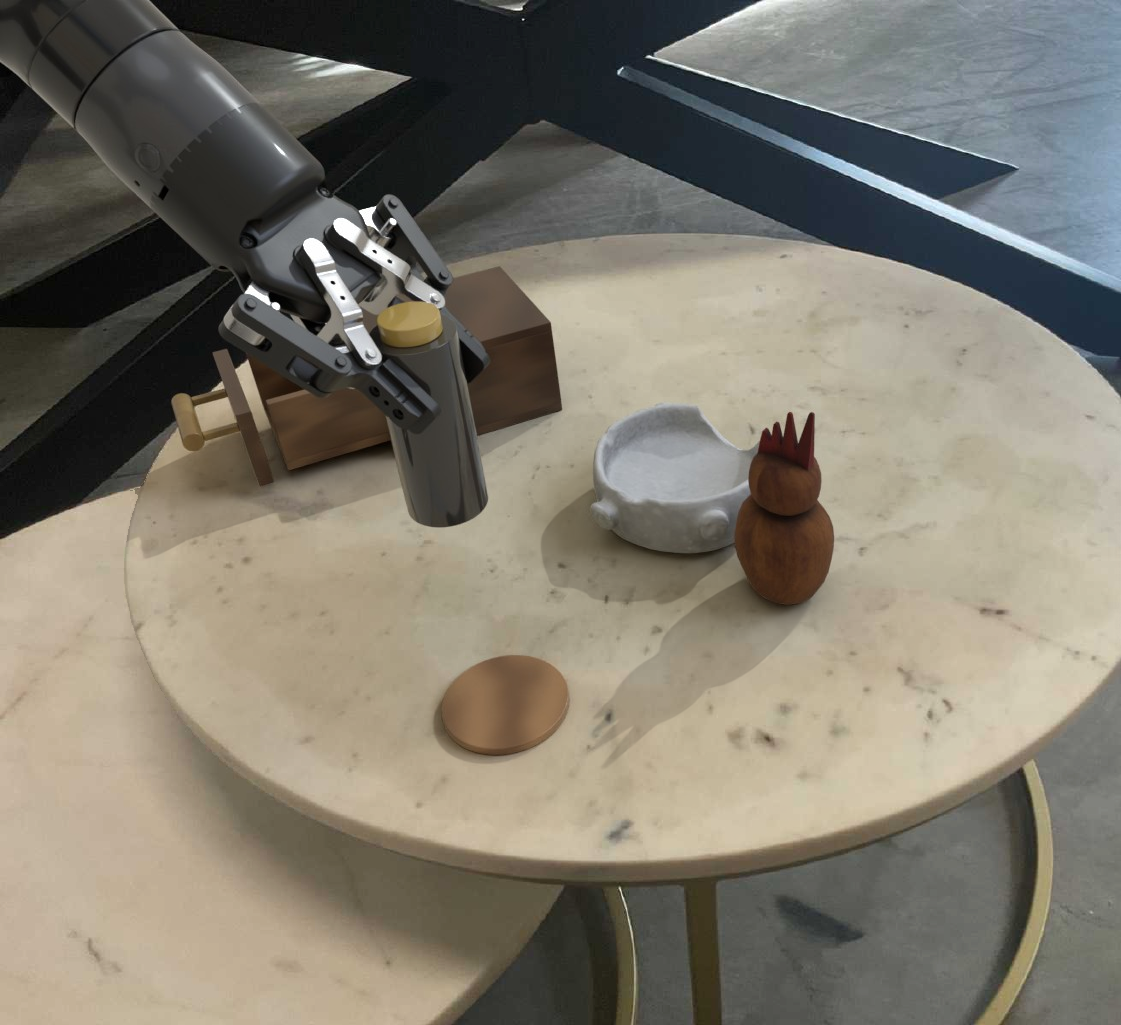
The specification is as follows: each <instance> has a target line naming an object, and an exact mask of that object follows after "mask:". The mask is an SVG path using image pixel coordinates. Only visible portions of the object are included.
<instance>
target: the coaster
mask: <svg viewBox="0 0 1121 1025" xmlns="http://www.w3.org/2000/svg"><path fill="white" fill-rule="evenodd" d="M570 699H571V698H570V691H569V687H568V683H567V681H566V678H565V677H564V676H563V674H562V673H561V672H560V671H559V670H558V669H557V668H556V667H555V666H554V665H552V664H551V663H550V662H547V661H546V660H544V659H541V658H538V657H535V656H531V655H524V654H510V655H509V654H508V655H507V654H506V655H501V656H496V657H493V658H488V659H486V660H485V659H484V660H483V661H480V662H478V663H476V664H474V665H472V666H471V667H469V668H466V669H465V671H463V672H461V673H460V675H458V676H457V677H456V678H455V679H454V680H453V681H452V682H451V684H449V686H448V688H447V690H446V691H445V693H444V696H443V699H442V703H441V710H440V711H441V712H440V713H441V719H442V723H443V725H444V729H445V731H446V733H447V734H448V736H449V737H450V738H451V739H452V741H454V742H455V743H456V744H458V745H459V746H460V747H462V748H463V749H466V750H468V751H470V752H473V753H476V754H482V755H488V756H502V755H511V754H515V753H519V752H522V751H526V750H528V749H531V748H533V747H535V746H537V745H539V744H541V743H542V742H544V741H545V740H547V739H548V738H549V737H551V736H552V735H553V734H554V733H555V732H557V730H558V728H559V727H560V726H561V725H562V723H563V721H564V720H565V719H566V716H567V714H568V711H569V707H570Z"/></svg>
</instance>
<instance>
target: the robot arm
mask: <svg viewBox="0 0 1121 1025" xmlns="http://www.w3.org/2000/svg"><path fill="white" fill-rule="evenodd" d="M0 63H1V64H2V65H4V66H5V67H6V68H8V69H9V70H10V71H12V72H13V73H14V74H16V76H18V77H19V78H20V79H21V80H22V81H23V82H24V83H25V84H26V85H27V86H28V87H29V88H30V89H31V90H33V91H34V92H35V93H36V94H37V95H38V96H39V97H40V98H41V99H42V100H43V101H44V102H45V103H46V104H47V105H48V106H50V107H51V109H53V110H54V111H55V112H56V113H57V114H58V115H59V116H60V117H61V118H62V119H64V121H66V122H67V124H69V125H70V126H71V128H73V129H74V130H75V131H76V132H77V133H78V134H79V135H80V136H81V137H82V138H83V139H84V141H86V142H87V144H88V145H89V146H90V147H91V149H93V151H94V153H96V154H97V156H98V157H99V159H100V160H101V161H102V162H103V164H105V165H106V167H107V168H108V169H109V170H110V171H111V172H112V173H113V175H115V176H116V177H117V178H118V179H119V180H120V181H121V182H122V183H123V184H124V185H125V186H126V187H127V188H129V189H130V190H131V191H132V192H133V193H134V194H135V196H137V197H138V198H139V199H140V200H141V201H142V202H143V203H145V205H147V206H148V207H149V208H150V209H151V210H152V211H153V212H154V213H155V214H156V215H157V216H158V217H159V218H160V219H162V221H164V223H166V224H167V225H168V226H169V227H170V228H171V229H172V230H173V231H174V232H175V233H176V234H177V235H178V236H180V237H181V238H182V239H183V241H184V242H186V243H187V244H188V245H189V246H190V247H191V248H192V249H193V250H194V251H195V252H196V253H197V254H199V255H200V257H202V258H203V259H204V260H205V261H206V262H207V263H208V264H209V265H210V266H211V267H212V268H213V269H216V271H219V272H225V273H226V272H227V273H228V272H231V273H232V274H233V276H234V277H235V278H236V281H237V282H238V285H239V287H240V289H241V291H242V293H241V294H240V295H239V296H238V297H237V299H236V300H235V301H234V303H233V304H232V305H230V307H229V309H228V311H227V312H226V313H225V315H224V316H223V319H222V321H221V322H220V323H219V325H218V333H219V335H220V337H221V338H222V339H223V340H225V341H226V342H228V343H230V344H231V345H233V346H234V347H236V348H237V349H238V350H241V351H242V352H244V353H245V354H246V353H247V354H249V355H250V356H252V357H254V358H255V359H257V360H258V361H260V362H262V363H263V364H265V365H266V366H268V367H270V368H271V369H273V370H274V371H276V372H278V373H279V374H281V375H282V376H284V377H286V378H287V379H289V380H290V381H292V382H294V383H295V384H297V385H299V386H300V387H302V388H303V389H305V390H307V391H308V392H310V393H311V394H313V395H315V396H316V397H319V398H327V397H328V396H329V395H330V394H331V393H332V392H333V391H336V390H339V389H343V388H349V389H357V390H359V391H361V392H362V393H363V394H364V395H365V396H366V397H367V398H368V399H369V400H370V401H371V402H372V403H373V404H374V405H376V406H377V407H378V408H379V409H380V410H381V411H383V413H384V414H385V415H386V416H387V417H389V419H390V420H391V421H392V422H393V423H394V424H396V425H397V426H398V427H400V428H402V429H404V430H406V431H407V430H409V431H410V432H412V433H414V434H421V433H422V432H423V431H424V430H425V429H426V428H427V427H428V426H429V425H430V424H431V423H432V422H433V421H434V420H435V419H436V418H437V417H438V416H439V415H440V413H441V408H440V406H439V405H438V403H437V402H436V401H435V400H434V399H432V398H431V397H430V396H429V395H428V394H427V393H426V392H425V391H424V390H423V389H422V388H421V387H420V386H419V385H418V384H417V383H416V382H415V381H414V380H413V379H412V378H411V377H410V376H409V375H408V374H407V373H406V372H404V371H403V370H402V369H401V368H400V367H399V366H398V365H397V364H396V363H395V362H394V361H393V360H392V359H391V358H389V359H388V360H387V361H385V362H384V363H383V362H382V361H381V360H382V355H381V352H380V351H379V349H378V347H377V346H376V344H375V343H374V341H373V340H372V338H371V336H370V335H369V333H368V332H367V330H366V329H365V327H364V325H363V313H362V310H361V308H360V307H362V308H363V309H365V310H367V311H368V312H370V313H372V314H374V315H379V314H380V313H381V312H382V311H384V310H385V309H387V308H389V307H391V306H394V305H396V304H400V303H405V301H404V300H402V299H401V298H399V297H397V296H396V295H397V294H402V295H404V296H406V297H407V298H409V299H411V300H412V301H413V302H414V301H420V302H427V303H431V304H433V305H435V306H436V307H437V308H438V309H439V311H440V314H441V315H444V316H447V317H449V318H450V319H452V320H453V321H454V322H455V324H456V326H457V331H458V336H459V341H460V347H461V352H462V358H463V363H464V368H465V374H466V379H467V383H471V382H472V381H473V380H474V379H475V378H476V377H477V376H478V375H479V374H480V373H481V372H482V371H483V370H484V369H485V368H486V367H487V366H488V365H489V363H490V357H489V355H488V354H487V353H486V350H485V349H484V347H483V345H482V344H481V342H480V341H479V340H478V339H477V338H476V337H475V336H473V334H472V333H471V332H470V331H468V330H467V328H466V327H464V326H463V325H462V324H461V323H460V322H459V321H458V320H457V319H456V318H455V317H454V316H453V315H452V314H451V313H450V312H449V311H448V309H447V308H446V306H445V299H444V298H445V295H446V292H447V289H448V287H449V286H450V285H451V284H452V282H453V278H454V276H453V274H452V272H451V271H450V269H449V268H448V266H447V265H446V264H445V262H444V260H443V259H442V258H441V257H440V255H439V253H438V252H437V251H436V250H435V248H434V246H433V245H432V244H431V242H430V240H429V239H428V237H427V236H426V235H425V233H424V232H423V231H422V230H421V228H420V226H419V225H418V224H417V222H416V220H414V218H413V216H412V215H411V214H410V212H409V211H408V210H407V208H406V206H405V205H404V203H403V202H402V201H401V200H400V198H399V197H397V196H395V195H394V194H390V193H387V194H385V195H383V196H382V198H381V199H380V201H379V202H378V203H377V204H376V206H371V207H368V208H363V209H360V210H359V209H358V208H356V207H355V206H354V205H352V204H350V203H348V202H346V201H345V200H342V199H340V197H337V196H336V195H335V194H333V193H332V192H331V191H330V189H329V187H328V185H327V182H326V174H325V169H324V167H323V165H322V163H321V162H320V161H319V160H318V159H317V158H316V157H315V156H314V155H313V154H312V153H311V152H310V151H308V149H307V148H306V147H305V145H303V144H302V143H301V142H300V141H299V140H298V139H297V138H296V137H294V135H293V134H292V133H291V132H290V131H289V130H287V128H286V127H285V126H284V125H283V124H282V123H281V122H280V121H278V119H276V117H275V116H274V115H272V114H271V113H270V112H269V111H268V109H267V108H265V106H264V105H262V103H261V102H259V101H258V99H256V97H254V96H253V95H252V93H250V91H248V90H247V89H246V87H244V86H243V84H242V83H240V82H239V80H238V79H236V78H235V77H234V76H233V75H232V74H231V73H230V72H229V71H228V70H227V69H226V68H225V67H224V66H223V65H222V64H221V63H220V62H218V61H217V60H216V59H215V58H213V57H212V56H211V55H210V54H209V53H207V52H206V51H204V50H203V49H202V48H201V47H199V46H198V45H197V44H195V43H194V41H192V40H190V39H189V37H187V36H186V35H185V34H184V33H182V32H181V31H180V29H179V28H178V27H177V26H176V25H175V24H174V23H173V22H172V21H171V20H170V19H169V18H168V17H167V16H166V15H165V14H164V13H163V12H162V11H161V10H159V8H158V7H156V5H155V4H154V3H153V2H152V1H151V0H0ZM417 264H418V265H419V266H420V268H421V269H422V271H423V272H424V274H425V275H426V277H425V278H424V277H423V275H422V274H421V272H420V271H419V269H418V268H417ZM381 275H383V276H384V278H385V279H384V280H383V281H382V282H381V280H382V276H381ZM379 282H381V284H380V285H379V286H377V284H379ZM359 306H360V307H359ZM283 313H284V314H283ZM286 314H288V315H290V317H291V318H292V319H291V318H290V317H288V316H287V315H286ZM346 345H347V346H348V348H349V349H350V351H351V352H350V351H349V349H348V348H347V346H346ZM298 355H299V356H302V357H304V358H305V359H307V360H308V361H310V362H311V363H313V364H315V365H316V366H318V367H319V368H316V367H315V366H313V365H311V364H310V363H308V362H307V361H305V360H304V359H302V358H300V357H299V356H298Z"/></svg>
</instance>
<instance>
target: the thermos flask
mask: <svg viewBox="0 0 1121 1025" xmlns="http://www.w3.org/2000/svg"><path fill="white" fill-rule="evenodd" d="M369 335H370V336H371V338H372V340H373V341H374V343H375V344H376V346H377V347H378V349H379V351H380V352H381V355H382V360H381V361H382V362H383V363H384V362H385V361H387V360H388V359H389V358H391V359H392V360H393V361H394V362H395V363H396V364H397V365H398V366H399V367H400V368H401V369H402V370H403V371H404V372H406V373H407V374H408V375H409V376H410V377H411V378H412V379H413V380H414V381H415V382H416V383H417V384H418V385H419V386H420V387H421V388H422V389H423V390H424V391H425V392H426V393H427V394H428V395H429V396H430V397H431V398H432V399H434V400H435V401H436V402H437V403H438V405H439V406H440V408H441V413H440V415H439V416H438V417H437V418H436V419H435V420H434V421H433V422H432V423H431V424H430V425H429V426H428V427H427V428H426V429H425V430H424V431H423V432H422V433H421V434H414V433H412V432H410V431H409V430H407V431H406V430H404V429H402V428H400V427H398V426H397V425H396V424H394V423H393V422H392V421H391V420H390V419H389V417H387V416H386V415H385V414H384V415H385V419H386V423H387V427H388V431H389V435H390V440H391V441H390V440H389V441H390V442H391V446H392V451H393V455H394V459H395V464H396V468H397V472H398V476H399V480H400V485H401V488H402V493H403V497H404V501H405V505H406V509H407V513H408V515H409V517H410V518H411V520H413V521H414V522H415V523H417V524H419V525H422V526H424V527H429V528H438V529H439V528H450V527H454V526H460V525H463V524H464V523H467V522H469V521H471V520H473V519H475V518H477V517H478V516H479V515H480V514H482V512H483V511H484V510H485V508H486V507H487V505H488V502H489V492H488V488H487V482H486V476H485V470H484V465H483V460H482V455H481V450H480V444H479V439H478V435H477V433H476V427H475V422H474V417H473V411H472V406H471V401H470V395H469V390H468V384H467V379H466V374H465V368H464V363H463V358H462V352H461V347H460V341H459V336H458V331H457V326H456V324H455V322H454V321H453V320H452V319H450V318H449V317H447V316H444V315H441V314H440V311H439V309H438V308H437V307H436V306H435V305H433V304H431V303H427V302H420V301H414V302H405V303H400V304H396V305H394V306H391V307H389V308H387V309H385V310H384V311H382V312H381V313H380V314H379V315H378V317H377V326H375V327H374V328H373V329H372V330H371V331H370V332H369Z"/></svg>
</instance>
